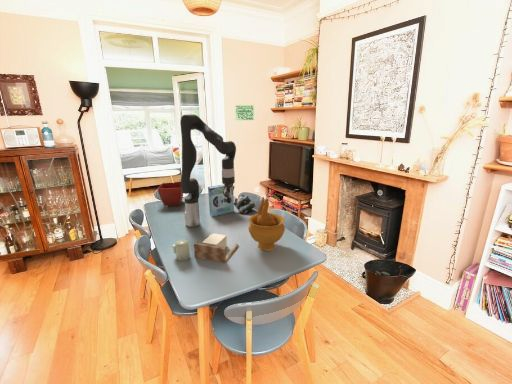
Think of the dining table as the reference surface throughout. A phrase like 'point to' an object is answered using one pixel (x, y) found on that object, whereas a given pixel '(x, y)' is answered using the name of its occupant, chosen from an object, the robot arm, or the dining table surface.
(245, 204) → the dark grey rounded lump
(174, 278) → the dining table surface
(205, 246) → the display bay
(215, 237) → the cream carton
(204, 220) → the dining table surface
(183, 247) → the sage mug
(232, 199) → the gum box
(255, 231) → the mortar and pestle
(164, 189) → the plant pot
